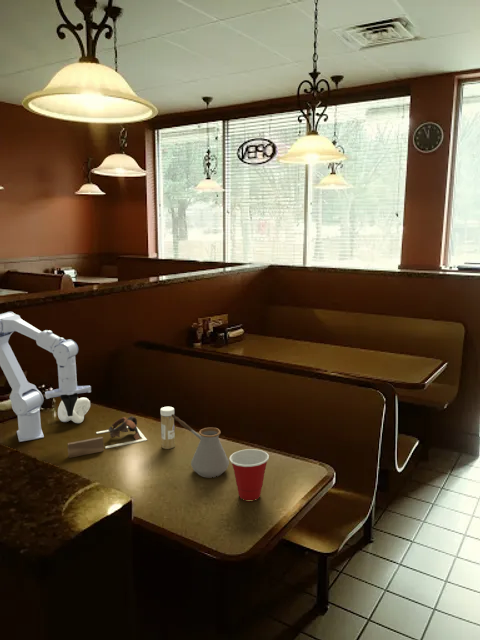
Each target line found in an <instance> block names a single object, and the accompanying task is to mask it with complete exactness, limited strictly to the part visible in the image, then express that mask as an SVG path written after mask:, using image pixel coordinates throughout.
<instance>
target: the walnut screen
mask: <svg viewBox="0 0 480 640" xmlns="http://www.w3.org/2000/svg"><path fill="white" fill-rule="evenodd" d="M104 448H105V445H104V437H103V436H98V437H93V438H89V439H88V438H87V439H82V440H77V441H73V442H72V441H71V442H67V453H68V454H67V455H68V456H67V457H68V458H69V459H70V458H71V459H72V458H77V457H80V456H86V455H90V454H94V453H100V452H104V450H105V449H104Z"/></svg>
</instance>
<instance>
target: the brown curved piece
mask: <svg viewBox="0 0 480 640" xmlns="http://www.w3.org/2000/svg"><path fill="white" fill-rule="evenodd" d="M137 425H138V420H137V418H136V417H135V416H133V415H130V416H129V417H128V418H127V417H125V416H123V417H121V418H119V419H117V420H116V421H114V422H113V423H112V424H111V426H110V427H109V428H108V430H109V432H108V433H109V436H110V437H111V438H115V437H118V438H121V437H120V435H121V434H120V433H128V432H132V433H133V432H134V433H135V434H134V435H133V438H134V439H135V440H140V438H141V437H140V435H139V432H138V430H137V428H138V427H137ZM127 426H128V428H127ZM135 440H134V441H135Z"/></svg>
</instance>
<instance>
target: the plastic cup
mask: <svg viewBox="0 0 480 640" xmlns="http://www.w3.org/2000/svg"><path fill="white" fill-rule="evenodd" d="M269 457H270V454H268V452H266V451H264V450H262V449H257V448H256V449H255V448H246V449H242V450H241V449H240V450H237V451H235V452H233V453H232V454H231V455H229V458H228V460H229V462H230V463H231V465H232V468H233V472H234V478H235V483H236V487H237V493H238V496H240V497H239V499H241V498H242V499H244V500H255V499H258V498H259V497H261V493H262V488H263V484H264V479H265V472H266V467H267V463H268V461H269ZM242 499H241V500H242ZM259 499H260V498H259ZM259 499H258V500H259ZM244 500H243V501H244Z"/></svg>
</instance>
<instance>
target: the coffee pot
mask: <svg viewBox="0 0 480 640" xmlns="http://www.w3.org/2000/svg"><path fill="white" fill-rule="evenodd" d="M171 416H172V417H173V418H174V421H176V422H178V423H179V424H180V425H181V426H182V427H183V428H185V429H186V430H188V431H189V432H191V433H192V434H193V435H194V436H196V438H197V439H199V442H198V445H197V447H196V450H195V452H194V454H193V457H192V459H191V462H190V465H191V468H192V469H193V471H194V472H195V473H196V474H197V475H199V476H200V477H203V478H212V477H213V478H217V477H219V476H221V475H222V474H223V473H224V472H226V470H227V469H228V467H229V466H230V465H229V464H230V459H229V458H228V456H227V454H226V451H225V449H224V446H223V445H222V443H221V441H220V435H221V430H220V429H219V428H217V427H204V428H202V429H200V430H199V432H198V433H197V432H196V431H195V430H194V429H193V428H192V427H191V426H190V425H188V424H187V423H186V422H185V421H183V420H181V419H180V418H179V417H178V416H176V415H175V414H174V415H173V414H172V415H171ZM171 416H170V417H171ZM170 417H169V419H170ZM173 418H172V419H173ZM170 420H171V419H170ZM216 476H217V477H216Z"/></svg>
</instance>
